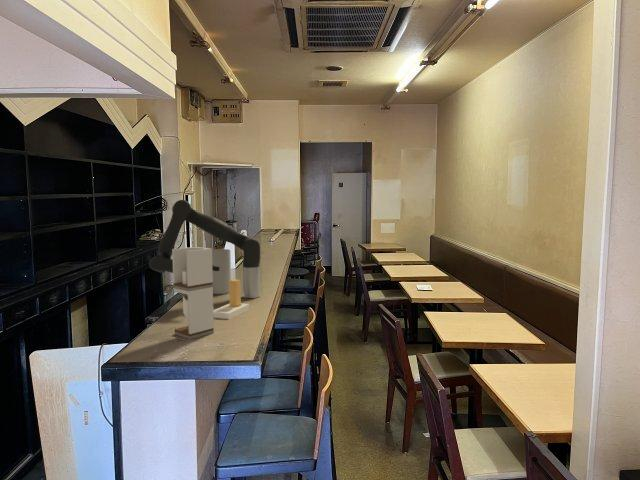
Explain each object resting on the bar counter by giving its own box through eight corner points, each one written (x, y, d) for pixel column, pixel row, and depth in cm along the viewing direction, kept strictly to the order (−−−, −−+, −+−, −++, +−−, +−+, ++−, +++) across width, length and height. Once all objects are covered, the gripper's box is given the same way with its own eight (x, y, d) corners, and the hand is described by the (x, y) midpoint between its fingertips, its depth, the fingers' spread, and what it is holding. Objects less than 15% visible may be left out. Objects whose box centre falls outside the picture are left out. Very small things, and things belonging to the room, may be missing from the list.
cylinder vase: (215, 295, 260) (215, 252, 258) (205, 292, 270) (204, 250, 267) (235, 292, 268) (234, 250, 266) (224, 289, 278) (223, 248, 276)
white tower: (198, 328, 195) (196, 246, 191) (213, 332, 188) (212, 248, 185) (174, 334, 186) (172, 249, 183) (190, 339, 179) (187, 251, 176)
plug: (233, 309, 226) (233, 279, 224) (241, 309, 225) (240, 279, 223) (229, 311, 222) (229, 280, 221) (237, 311, 221) (236, 281, 219)
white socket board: (231, 308, 230) (231, 302, 229) (249, 309, 227) (249, 304, 226) (209, 318, 211) (209, 311, 210) (229, 320, 208) (228, 313, 207)
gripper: (178, 261, 223) (207, 264, 218) (194, 258, 236) (222, 260, 231) (177, 276, 223) (206, 279, 219) (194, 272, 237) (221, 275, 232)
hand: (214, 270), depth 225 cm, fingers open, 8 cm apart
